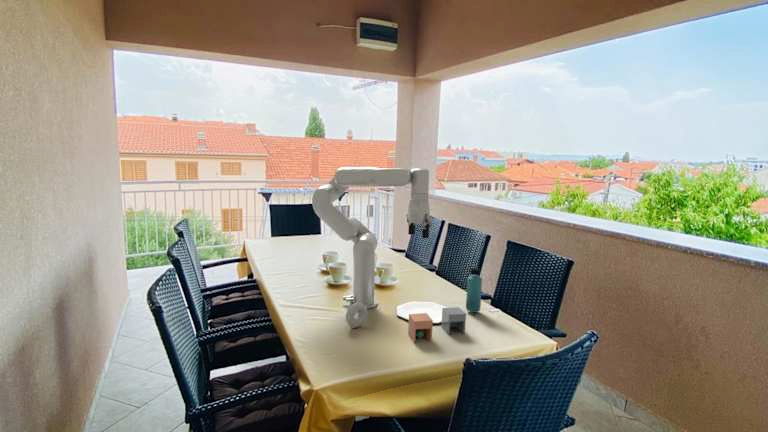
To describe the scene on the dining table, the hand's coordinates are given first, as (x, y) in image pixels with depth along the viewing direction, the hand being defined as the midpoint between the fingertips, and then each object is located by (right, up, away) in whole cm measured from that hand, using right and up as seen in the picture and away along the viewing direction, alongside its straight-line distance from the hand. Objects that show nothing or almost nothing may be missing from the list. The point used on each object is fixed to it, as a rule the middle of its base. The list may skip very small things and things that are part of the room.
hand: (418, 236), depth 175 cm
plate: (+2, -34, -2) cm, 34 cm away
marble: (-2, -37, -25) cm, 45 cm away
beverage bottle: (+24, -34, +1) cm, 42 cm away
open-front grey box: (+12, -36, -18) cm, 42 cm away
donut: (-26, -35, -18) cm, 47 cm away
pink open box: (-2, -37, -25) cm, 45 cm away
